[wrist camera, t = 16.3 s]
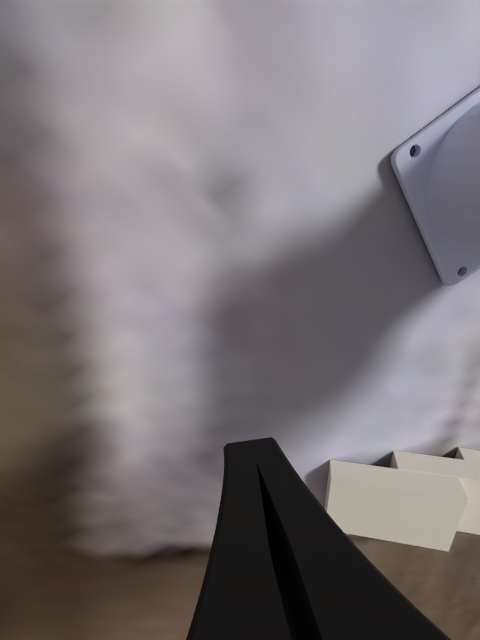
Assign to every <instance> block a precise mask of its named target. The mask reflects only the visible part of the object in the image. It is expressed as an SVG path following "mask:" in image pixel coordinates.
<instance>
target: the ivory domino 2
mask: <svg viewBox="0 0 480 640" xmlns="http://www.w3.org/2000/svg"><path fill="white" fill-rule="evenodd" d="M390 468H394V469H401V470H408V471H415V472H423V473H430V474H437V475H444V476H451V477H458V478H459V480H460V483H461V485H462V487H463V489H464V491H465V494H466V496H467V498H468V501H467V504H466V506H465V509H464V512H463V514H462V517H461V520H460V522H459V525H458V528H457V530H456V531H461V532H467V533H473V534H479V535H480V462H476V461H469V460H461V459H453V458H446V457H438V456H430V455H423V454H415V453H408V452H400V451H393V455H392V459H391V464H390Z"/></svg>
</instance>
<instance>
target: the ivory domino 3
mask: <svg viewBox="0 0 480 640" xmlns="http://www.w3.org/2000/svg"><path fill="white" fill-rule="evenodd" d="M454 459H461V460H469V461H476V462H480V451H478V450H472V449H466V448H458V450H457V453H456V455H455V458H454Z"/></svg>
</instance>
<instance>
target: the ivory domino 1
mask: <svg viewBox="0 0 480 640" xmlns="http://www.w3.org/2000/svg"><path fill="white" fill-rule="evenodd" d="M467 501H468V498H467V496H466V494H465V491H464V489H463V487H462V485H461V483H460V480H459V478H458V477H451V476H444V475H437V474H430V473H423V472H415V471H408V470H401V469H394V468H387V467H379V466H372V465H365V464H358V463H351V462H344V461H336V460H330V465H329V473H328V482H327V490H326V498H325V506H324V509H325V511H326V512H327V513H328V514H329V515H330V517H331V518H332V519H333V520H334V521H335V523H336V524H337V525H338V526H339V527H340V528H341V530H342V531H343V532H344V533H348V534H354V535H359V536H365V537H370V538H376V539H382V540H387V541H393V542H399V543H404V544H410V545H415V546H421V547H427V548H432V549H438V550H444V551H449V549H450V546H451V544H452V541H453V538H454V536H455V533H456V530H457V528H458V525H459V522H460V520H461V517H462V514H463V512H464V509H465V506H466V504H467Z"/></svg>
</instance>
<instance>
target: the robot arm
mask: <svg viewBox="0 0 480 640" xmlns="http://www.w3.org/2000/svg"><path fill="white" fill-rule="evenodd" d="M412 146H414V147H415V154H414V155H413V156H412V157H411V156H410V149H411V147H412ZM391 165H392V168H393V170H394V172H395V175H396V177H397V179H398V181H399V184H400V186H401V188H402V191H403V193H404V195H405V198H406V200H407V202H408V205H409V207H410V209H411V212H412V214H413V216H414V218H415V221H416V223H417V225H418V228H419V230H420V232H421V235H422V237H423V239H424V242H425V244H426V246H427V248H428V251H429V253H430V255H431V258H432V260H433V262H434V265H435V267H436V269H437V272H438V274H439V276H440V279H441V281H442V282H443V283H445V284H447V285H449V286H451V285H455V284H457V283H458V282H460V281H461V280H463V279H464V278H466V277H467V276H469V275H470V274H472V273H473V272H475V271H476V270H478V269H479V268H480V87H479V88H477V89H476V90H475V91H473V92H472V93H471V94H469V95H468V96H467V97H465V98H464V99H463V100H461V101H460V102H459V103H457V104H456V105H455V106H453V107H452V108H451V109H449V110H448V111H446V112H445V113H444V114H442V115H441V116H440V117H438V118H437V119H436V120H434V121H433V122H432V123H430V124H429V125H428V126H426V127H425V128H424V129H422V130H421V131H420V132H418V133H417V134H416V135H414V136H413V137H412V138H410V139H409V140H407V141H406V142H405V143H403V144H402V145H401V146H399V147H398V148H397V149H396V150H395V151H394V152H393V154H392V156H391ZM461 267H462V269H461V271H460V272H459V273H458V271H459V269H460V268H461ZM186 640H451V639H450V638H449V637H448V636H447V635H445V634H444V633H443V632H442V631H441V630H440V629H439V628H438V627H437V626H435V625H434V624H433V623H432V622H431V621H430V620H429V619H428V618H427V617H425V616H424V615H423V614H422V613H421V612H420V611H419V610H418V609H417V608H416V607H415V606H414V605H413V604H412V603H411V602H410V601H409V600H408V599H407V598H406V597H405V596H404V595H403V594H402V593H401V592H400V591H399V590H397V589H396V588H395V587H394V586H393V585H392V584H391V583H390V582H389V581H388V579H387V578H386V577H385V576H384V575H383V574H382V573H381V572H380V571H379V570H378V569H377V568H376V567H375V566H374V565H373V564H372V563H371V562H370V561H369V560H368V559H367V558H366V557H365V555H364V554H363V553H362V552H361V551H360V550H359V549H358V548H357V547H356V546H355V544H354V543H353V542H352V541H351V540H350V539H349V538H348V537H347V535H346V534H345V533H344V532H343V531H342V530H341V528H340V527H339V526H338V525H337V524H336V523H335V521H334V520H333V519H332V518H331V517H330V515H329V514H328V513H327V512H326V511H325V509H324V508H323V507H322V505H321V504H320V503H319V502H318V500H317V499H316V498H315V497H314V495H313V494H312V493H311V491H310V490H309V489H308V488H307V486H306V485H305V484H304V482H303V481H302V479H301V478H300V477H299V475H298V474H297V472H296V471H295V470H294V468H293V467H292V465H291V464H290V462H289V461H288V459H287V458H286V456H285V455H284V453H283V452H282V450H281V448H280V447H279V445H278V443H277V442H276V440H275V439H273V438H272V437H270V438H263V439H256V440H249V441H242V442H235V443H228V444H227V445H226V446H225V447H224V478H223V487H222V495H221V501H220V507H219V513H218V519H217V525H216V530H215V534H214V538H213V543H212V547H211V552H210V556H209V561H208V565H207V569H206V573H205V577H204V580H203V584H202V588H201V592H200V595H199V599H198V602H197V606H196V609H195V612H194V616H193V619H192V623H191V626H190V629H189V632H188V635H187V638H186Z"/></svg>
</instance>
